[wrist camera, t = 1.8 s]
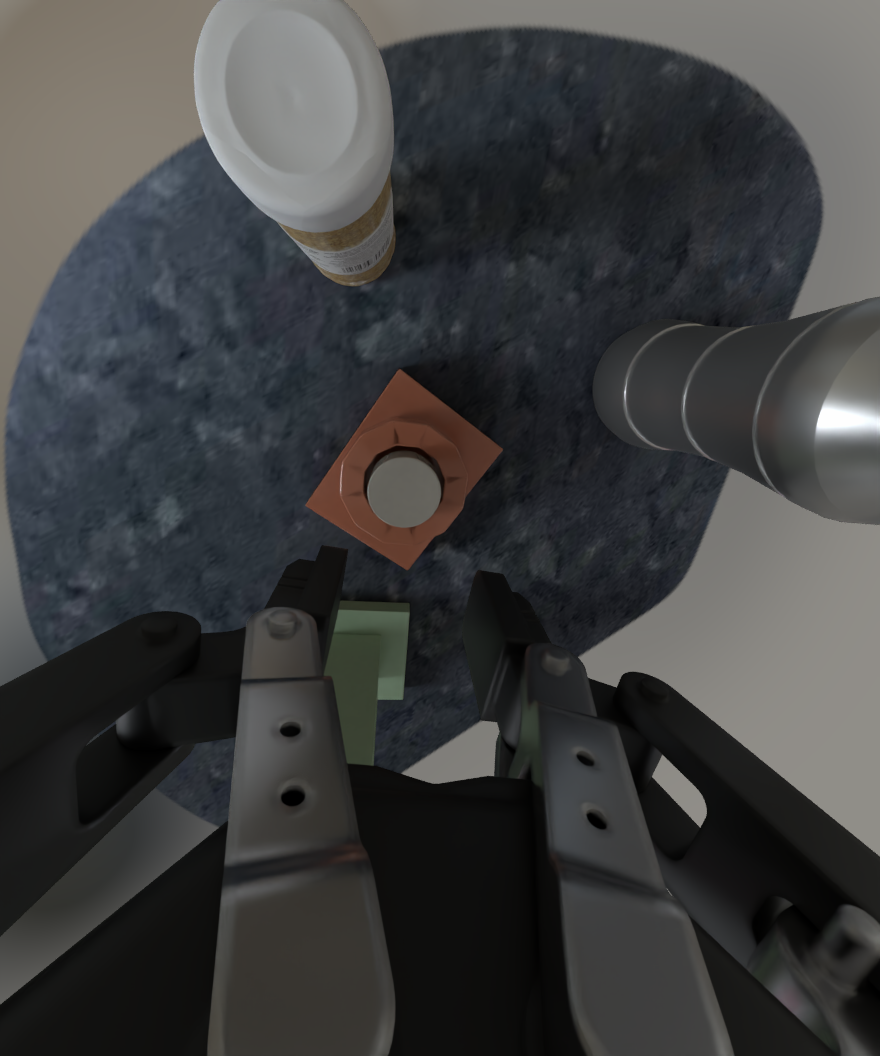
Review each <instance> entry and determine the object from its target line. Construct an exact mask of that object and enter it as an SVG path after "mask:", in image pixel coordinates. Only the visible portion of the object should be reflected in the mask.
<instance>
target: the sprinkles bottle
mask: <svg viewBox="0 0 880 1056" xmlns="http://www.w3.org/2000/svg"><path fill="white" fill-rule="evenodd" d="M194 89H195V99H196V106H197V110H198V114H199V118H200V121H201V125H202V128H203V131H204V133H205V136H206V138H207V141H208V143H209V145H210V147H211V149H212V151H213V153H214V155H215V156H216V158H217V160H218V162H219V163H220V165H221V166H222V167H223V169H224V170H225V172H226V173H227V174H228V175H229V177H230V178H231V179H232V180H233V181H234V183H235V184H236V185H237V186H238V187H239V188H240V190H241V191H242V192H243V193H244V194H245V195H246V196H247V197H248V198H249V199H250V200H251V201H252V202H253V203H254V204H255V205H256V206H257V207H258V208H259V209H260V210H261V211H262V212H264V213H265V214H266V215H268V216H269V217H271V218H272V219H274V220H276V221H277V222H278V224H279V225H280V226H281V227H282V229H283V230H284V231H285V232H286V233H287V234H288V235H289V236H290V237H291V238H292V239H293V240H294V242H295V243H296V244H297V245H298V246H299V247H300V248H301V249H302V250H303V251H304V253H305V254H306V255H307V256H308V257H309V258H310V259H311V260H312V261H313V263H314V264H315V266H316V267H317V268H318V269H319V270H320V272H321V273H322V274H324V275H325V276H326V277H328V278H330V279H331V280H333V281H334V282H336V283H339V284H342V285H346V286H361V285H363V284H367V283H369V282H371V281H373V280H375V279H377V278H378V277H379V276H380V275H381V274H382V273H383V272H384V271H385V269H386V268H387V267H388V265H389V263H390V260H391V258H392V255H393V253H394V249H395V241H396V233H395V226H394V223H393V195H392V187H391V177H390V167H391V162H392V157H393V149H394V124H393V109H392V101H391V93H390V86H389V82H388V78H387V73H386V69H385V66H384V63H383V60H382V57H381V55H380V52H379V50H378V48H377V46H376V44H375V42H374V40H373V38H372V36H371V34H370V33H369V31H368V29H367V28H366V26H365V25H364V23H363V22H362V20H361V19H360V17H359V16H358V15H357V13H356V12H355V11H354V10H353V9H352V8H350V6H349V5H348V4H347V3H346V2H345V1H344V0H219V1H218V3H217V4H216V5H215V6H214V8H213V9H212V11H211V12H210V14H209V16H208V18H207V20H206V22H205V24H204V26H203V29H202V32H201V35H200V38H199V41H198V45H197V49H196V54H195V64H194Z"/></svg>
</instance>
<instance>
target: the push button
mask: <svg viewBox="0 0 880 1056" xmlns="http://www.w3.org/2000/svg"><path fill="white" fill-rule="evenodd" d="M367 495H368V501H369V504H370V506H371V508H372V510H373V512H374V513H375V514H376V516H378V517H379V518H380V519H381V520H382V521H383V522H385V523H387V524H389V525H392V526H395V527H401V528H408V527H414V526H417V525H420V524H422V523H424V522H425V521H427V520H428V519H429V518H430V517H431V516H432V515H433V514H434V513H435V511H436V510H437V508H438V506H439V503H440V499H441V486H440V482H439V479H438V476H437V473H436V470H435V468H434V467H433V465H432V464H431V463H430V461H429V460H428V459H426V458H425V457H424V456H422V455H421V454H418V453H416V452H413V451H407V450H401V451H395V452H392V453H389V454H387V455H385V456H384V457H382V458H381V459H380V460H379V461H378V462H377V463H376V465H375V466H374V468H373V470H372V472H371V475H370V479H369V483H368V489H367Z"/></svg>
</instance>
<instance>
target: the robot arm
mask: <svg viewBox="0 0 880 1056" xmlns="http://www.w3.org/2000/svg"><path fill="white" fill-rule="evenodd" d="M347 554H348V549H343V548H336V547H330V546H324V545H322V546H321V548H320V551H319V553H318V556H317V558H316V561H309V560H303V559H298V560H297V561H295V562H293V563H291V564H290V565H288V566H287V567H286V569H285V571H284V573H283V575H282V577H281V578H280V580H279V582H278V585H277V586H276V588H275V590H274V592H273V593H272V595H271V597H270V599H269V601H268V603H267V605H266V607H265V608H264V609H263V610H260V611H258V612H256V613H254V614H253V615H252V616H251V617H250V618H249V619H248V621H247V625H246V627H244V628H241V629H238V630H234V631H228V632H218V633H201V625H200V623H199V622H198V621H197V620H196V619H195V618H193V617H192V616H190V615H187V614H184V613H179V612H171V611H161V612H152V613H147V614H143V615H139V616H136V617H134V618H132V619H129V620H127V621H125V622H123V623H122V624H120V625H118V626H116V627H114V628H112V629H110V630H108V631H106V632H104V633H102V634H100V635H98V636H97V637H95V638H93V639H91V640H89V641H87V642H85V643H83V644H81V645H79V646H77V647H75V648H73V649H71V650H70V651H68V652H66V653H64V654H62V655H60V656H58V657H56V658H54V659H52V660H50V661H48V662H46V663H45V664H43V665H41V666H39V667H37V668H35V669H33V670H31V671H29V672H27V673H26V674H23V675H21V676H19V677H18V678H16V679H14V680H12V681H10V682H8V683H6V684H4V685H2V686H0V936H1V935H2V934H3V933H4V932H5V931H6V930H7V929H9V928H10V927H11V926H12V925H13V924H14V923H15V922H16V921H17V920H18V919H19V918H20V917H21V916H22V915H23V914H24V913H25V912H26V911H27V910H28V909H29V908H30V907H31V906H32V905H33V904H34V903H36V902H37V901H38V900H39V899H40V898H41V897H42V896H43V895H44V894H45V893H46V892H47V891H48V890H49V889H50V888H51V887H52V886H53V885H54V884H55V883H56V882H57V881H58V880H59V879H61V878H62V877H63V876H64V875H65V874H66V873H67V872H68V871H69V870H70V869H71V868H72V867H73V866H74V865H75V864H76V863H77V862H78V861H79V860H80V859H81V858H82V857H83V856H84V855H85V854H86V853H87V852H88V851H90V850H91V849H92V847H94V846H95V845H96V844H97V843H98V842H99V841H100V840H101V839H102V838H103V837H104V836H105V835H106V834H107V833H108V832H109V831H110V830H111V829H112V828H113V827H115V825H117V824H118V822H120V821H121V820H122V819H123V818H124V817H125V816H126V815H127V814H128V813H129V812H130V811H131V810H132V809H133V808H134V807H135V806H136V805H137V804H138V803H139V802H140V801H141V800H143V799H144V798H145V797H146V796H147V795H148V794H149V793H150V792H151V791H152V790H153V789H154V788H155V787H156V786H157V785H158V784H159V783H160V782H161V781H162V780H163V779H164V778H165V777H166V776H167V775H169V774H170V773H171V772H172V771H173V770H174V769H175V768H176V767H177V766H178V765H179V764H180V763H181V762H182V761H183V760H184V759H185V758H186V757H187V756H188V755H189V754H190V753H191V751H192V750H193V748H194V746H195V744H196V743H202V742H209V741H215V740H221V739H228V738H234V737H236V743H235V754H234V764H233V775H232V786H231V797H230V808H229V819H228V821H227V822H225V823H224V824H223V825H222V826H221V827H219V828H218V829H217V830H216V831H214V832H213V833H212V834H211V835H209V836H208V837H207V838H206V839H205V840H203V841H202V842H201V843H200V844H199V845H197V846H196V847H195V848H193V849H192V850H191V851H190V852H188V853H187V854H186V855H185V856H184V857H182V858H181V859H180V860H179V861H177V862H176V863H175V864H174V865H172V866H171V867H170V868H169V869H167V870H166V871H165V872H164V873H162V874H161V875H160V876H159V877H158V878H156V879H155V880H154V881H153V882H151V883H150V884H149V885H148V886H146V887H145V888H144V889H143V890H142V891H140V892H139V893H138V894H136V895H135V896H134V897H133V898H132V899H130V900H129V901H128V902H127V903H125V904H124V905H123V906H122V907H120V908H119V909H118V910H117V911H115V912H114V913H113V914H112V915H111V916H109V917H108V918H107V919H106V920H104V921H103V922H102V923H101V924H100V925H98V926H97V927H96V928H94V929H93V930H92V931H91V932H89V933H88V934H87V935H86V936H85V937H83V938H82V939H81V940H80V941H78V942H77V943H76V944H75V945H74V946H72V947H71V948H70V949H68V950H67V951H66V952H65V953H64V954H62V955H61V956H60V957H59V958H57V959H56V960H55V961H54V962H52V963H51V964H50V965H49V966H47V967H46V968H45V969H44V970H43V971H41V972H40V973H39V974H38V975H36V976H35V977H34V978H33V979H31V980H30V981H29V982H28V983H26V984H25V985H24V986H23V987H22V988H20V989H19V990H18V991H17V992H16V993H14V994H13V995H12V996H10V997H9V998H8V999H7V1000H6V1001H4V1002H3V1003H2V1004H0V1056H880V857H879V856H878V855H877V854H876V853H875V852H873V851H872V850H871V849H870V848H868V847H867V846H866V845H865V844H864V843H862V842H861V841H860V840H859V839H857V838H856V837H855V836H854V835H853V834H851V833H850V832H849V831H848V830H846V829H845V828H844V827H843V826H841V825H840V824H839V823H838V822H837V821H835V820H834V819H833V818H832V817H830V816H829V815H828V814H827V813H825V812H824V811H823V810H822V809H820V808H819V807H818V806H817V805H816V804H814V803H813V802H812V801H811V800H810V799H808V798H807V797H806V796H805V795H803V794H802V793H801V792H800V791H798V790H797V789H796V788H795V787H794V786H792V785H791V784H790V783H789V782H787V781H786V780H785V779H784V778H782V777H781V776H780V775H779V774H777V773H776V772H775V771H774V770H773V769H771V768H770V767H769V766H768V765H766V764H765V763H764V762H763V761H761V760H760V759H759V758H758V757H757V756H755V755H754V754H753V753H752V752H751V751H749V750H748V749H747V748H745V747H744V746H743V745H742V744H741V743H739V742H738V741H737V740H736V739H735V738H733V737H732V736H731V735H730V734H728V733H727V732H726V731H725V730H724V729H722V728H721V727H720V726H718V725H717V724H716V723H715V722H714V721H712V720H711V719H710V718H709V717H708V716H706V715H705V714H704V713H703V712H701V711H700V710H699V709H698V708H696V707H695V706H694V705H693V704H692V703H690V702H689V701H688V700H686V699H685V698H684V697H683V696H682V695H680V694H679V693H678V692H677V691H676V690H674V689H673V688H672V687H670V686H669V685H668V684H666V683H665V682H663V681H661V680H659V679H657V678H655V677H653V676H650V675H647V674H644V673H639V672H628V673H625V674H623V675H622V677H621V679H620V682H619V684H618V686H617V688H616V687H613V686H610V685H607V684H604V683H601V682H598V681H595V680H592V679H590V678H588V677H587V673H586V669H585V667H584V665H583V663H582V662H581V660H580V659H579V658H578V657H577V656H575V655H574V654H573V653H571V652H569V651H568V650H566V649H564V648H562V647H559V646H557V645H553V644H552V643H551V642H550V640H549V638H548V636H547V634H546V632H545V630H544V628H543V627H542V625H541V623H540V621H539V619H538V617H537V615H535V611H534V610H533V608H532V606H531V604H530V602H528V601H527V600H526V599H525V598H524V597H523V596H522V595H520V594H519V593H517V592H512V591H511V589H510V587H509V585H508V583H507V580H506V578H505V576H504V575H503V574H500V573H494V572H487V571H481V570H478V571H477V573H476V575H475V577H474V581H473V584H472V588H471V592H470V596H469V600H468V603H467V607H466V611H465V615H464V619H463V626H462V638H463V642H464V647H465V651H466V656H467V660H468V664H469V669H470V673H471V678H472V682H473V686H474V691H475V695H476V700H477V704H478V709H479V713H480V717H481V720H482V721H491V722H497V723H498V727H499V731H500V732H499V735H498V738H497V741H496V752H495V753H496V754H495V772H494V776H486V777H479V778H473V779H466V780H460V781H453V782H447V783H441V784H432V783H428V782H425V781H421V780H418V779H415V778H412V777H409V776H406V775H403V774H400V773H396V772H393V771H390V770H387V769H384V768H381V767H378V766H372V765H361V764H350V763H347V760H346V754H345V748H344V742H343V736H342V730H341V724H340V719H339V713H338V707H337V701H336V695H335V689H334V683H333V679H332V677H331V676H324V671H325V667H326V663H327V658H328V654H329V650H330V646H331V641H332V637H333V633H334V629H335V624H336V620H337V615H338V610H339V604H340V598H341V592H342V586H343V580H344V573H345V567H346V561H347ZM114 721H116V724H115V725H114V726H112V727H111V728H110V729H108V730H107V731H106V732H104V733H103V734H102V735H100V736H99V737H97V738H96V739H95V740H93V741H92V742H91V743H90V744H88V745H87V743H88V742H89V741H90V740H91V739H92V738H93V737H94V736H96V735H97V734H98V733H99V732H101V731H102V730H103V729H105V728H106V727H108V726H109V725H110V724H112V723H113V722H114ZM86 745H87V746H86ZM662 754H663V755H664V756H665V757H666V758H667V759H668V760H669V761H670V762H671V763H672V764H673V765H674V766H675V767H676V768H677V769H678V770H679V771H680V772H681V773H682V774H683V775H684V776H685V777H686V778H687V779H688V780H689V781H690V782H691V783H692V784H693V785H694V786H695V787H696V788H697V789H698V790H699V791H700V793H701V794H702V796H703V798H704V800H705V803H706V807H707V816H706V818H705V820H704V822H703V824H702V826H701V828H700V827H699V826H698V825H697V824H696V823H695V822H694V821H693V820H692V819H691V818H690V817H689V816H688V815H687V813H686V812H685V811H684V810H683V809H682V808H681V807H680V806H679V805H678V804H677V803H676V802H675V801H674V800H673V799H672V798H671V797H670V796H669V794H667V792H666V791H665V790H664V789H663V788H662V787H661V786H660V785H659V784H658V783H657V782H656V781H655V780H654V779H653V778H652V775H653V772H654V771H655V768H656V767H657V764H658V763H659V760H660V758H661V756H662ZM667 889H668V890H667ZM668 891H669V892H670V893H671V894H672V896H671V895H670V893H669V892H668Z"/></svg>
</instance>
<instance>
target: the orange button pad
mask: <svg viewBox="0 0 880 1056" xmlns="http://www.w3.org/2000/svg"><path fill="white" fill-rule="evenodd" d="M401 450H407V451H413V452H416V453H418V454H421V455H422V456H424V457H425V458H426V459H428V460H429V461H430V463H431V464H432V465H433V467H434V468H435V470H436V473H437V476H438V479H439V482H440V486H441V499H440V503H439V506H438V508H437V510H436V511H435V513H434V514H433V515H432V516H431V517H430V518H429V519H428V520H427V521H425V522H424V523H422V524H420V525H417V526H414V527H408V528H401V527H395V526H392V525H389V524H387V523H385V522H383V521H382V520H381V519H380V518H379V517H378V516H376V514H375V513H374V512H373V510H372V508H371V506H370V504H369V501H368V495H367V489H368V483H369V479H370V475H371V472H372V470H373V468H374V466H375V465H376V463H377V462H378V461H379V460H380V459H381V458H382V457H384V456H385V455H387V454H389V453H392V452H395V451H401ZM502 450H503V449H502V448H501V447H500V446H499V445H498V444H497V443H496V442H494V441H493V440H492V439H491V438H489V437H488V436H487V435H485V434H484V433H483V432H482V431H480V430H479V429H478V428H476V427H475V426H474V425H473V424H471V423H470V422H469V421H467V420H466V419H465V418H464V417H462V416H461V415H460V414H459V413H457V412H456V411H455V410H453V409H452V408H451V407H450V406H448V405H447V404H446V403H444V402H443V401H442V400H441V399H439V398H438V397H437V396H435V395H434V394H433V393H432V392H430V391H429V390H428V389H426V388H425V387H424V386H423V385H421V384H420V383H419V382H417V381H416V380H415V379H414V378H412V377H411V376H410V375H409V374H407V373H406V372H405V371H403V370H402V369H401V368H398V370H397V371H396V373H395V374H394V376H393V377H392V379H391V380H390V382H389V383H388V384H387V386H386V387H385V389H384V390H383V392H382V393H381V395H380V396H379V398H378V399H377V400H376V402H375V403H374V405H373V406H372V408H371V409H370V411H369V412H368V414H367V415H366V416H365V418H364V419H363V421H362V422H361V424H360V425H359V427H358V428H357V430H356V431H355V432H354V434H353V435H352V437H351V438H350V440H349V441H348V443H347V444H346V446H345V447H344V448H343V450H342V451H341V453H340V454H339V456H338V457H337V459H336V460H335V462H334V463H333V464H332V466H331V467H330V469H329V470H328V472H327V473H326V475H325V476H324V478H323V479H322V480H321V482H320V483H319V485H318V486H317V488H316V489H315V491H314V492H313V494H312V495H311V497H310V498H309V500H308V502H307V503H306V506H307V507H308V508H310V509H311V510H313V511H315V512H316V513H318V514H319V515H321V516H322V517H324V518H326V519H327V520H329V521H330V522H332V523H333V524H335V525H337V526H338V527H340V528H341V529H343V530H345V531H346V532H348V533H349V534H351V535H352V536H354V537H356V538H357V539H359V540H360V541H362V542H363V543H365V544H367V545H368V546H370V547H371V548H373V549H374V550H376V551H378V552H379V553H381V554H382V555H384V556H385V557H387V558H389V559H390V560H392V561H393V562H395V563H397V564H398V565H400V566H401V567H403V568H404V569H406V570H409V568H410V567H411V566H412V565H413V563H414V562H415V561H416V559H417V558H418V557H419V556H420V554H421V553H422V552H423V551H424V549H425V548H426V547H427V545H428V544H429V543H430V542H431V540H432V539H433V538H434V537H435V536H437V535H440V534H442V533H443V532H445V531H446V530H447V528H448V527H449V526H450V525H451V523H452V522H453V521H454V520H455V518H456V517H457V516H458V515H459V513H460V512H461V511H462V509H463V507H464V502H465V497H466V496H467V495H468V493H469V492H470V491H471V490H472V488H473V487H474V486H475V485H476V483H477V482H478V481H479V480H480V478H481V477H482V476H483V474H484V473H485V472H486V471H487V469H488V468H489V467H490V466H491V464H492V463H493V462H494V461H495V459H496V458H497V457H498V455H499V454H500V453H501V452H502Z"/></svg>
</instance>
